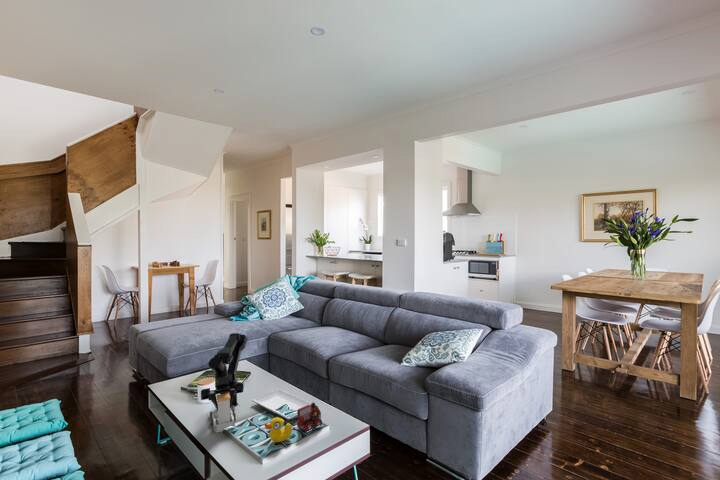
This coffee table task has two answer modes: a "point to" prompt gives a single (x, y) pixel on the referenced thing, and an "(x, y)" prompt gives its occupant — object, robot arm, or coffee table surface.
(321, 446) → the coffee table surface
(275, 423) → the duckling
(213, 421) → the small digital clock
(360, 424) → the coffee table surface
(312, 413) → the toy fire truck
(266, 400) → the tray
